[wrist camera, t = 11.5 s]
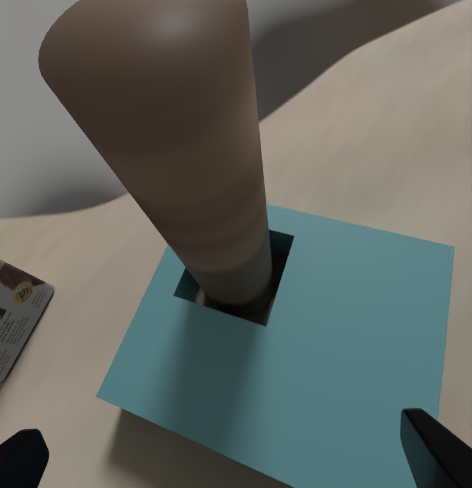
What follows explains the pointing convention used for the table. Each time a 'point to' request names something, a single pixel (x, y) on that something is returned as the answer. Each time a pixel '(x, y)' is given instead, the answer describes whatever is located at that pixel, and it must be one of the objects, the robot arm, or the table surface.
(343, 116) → the table surface
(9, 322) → the brown cookie box
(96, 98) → the peg
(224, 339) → the holder block
